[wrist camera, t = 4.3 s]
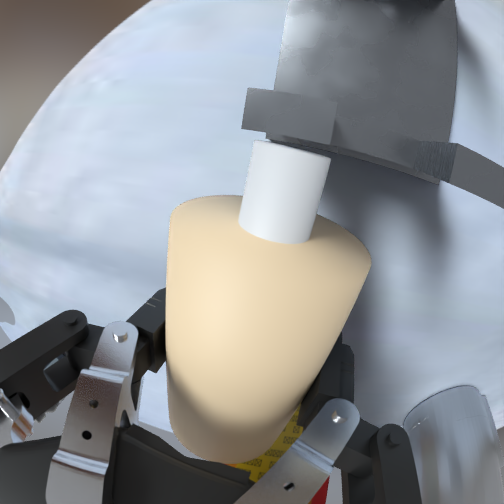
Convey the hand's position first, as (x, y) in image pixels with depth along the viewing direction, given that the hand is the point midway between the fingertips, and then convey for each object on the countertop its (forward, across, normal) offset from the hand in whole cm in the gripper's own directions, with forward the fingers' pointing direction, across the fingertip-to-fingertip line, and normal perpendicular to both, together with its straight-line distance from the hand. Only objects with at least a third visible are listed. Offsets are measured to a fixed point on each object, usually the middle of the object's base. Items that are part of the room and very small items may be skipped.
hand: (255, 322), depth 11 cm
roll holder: (+7, -2, -14) cm, 16 cm away
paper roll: (+1, 0, 0) cm, 1 cm away
